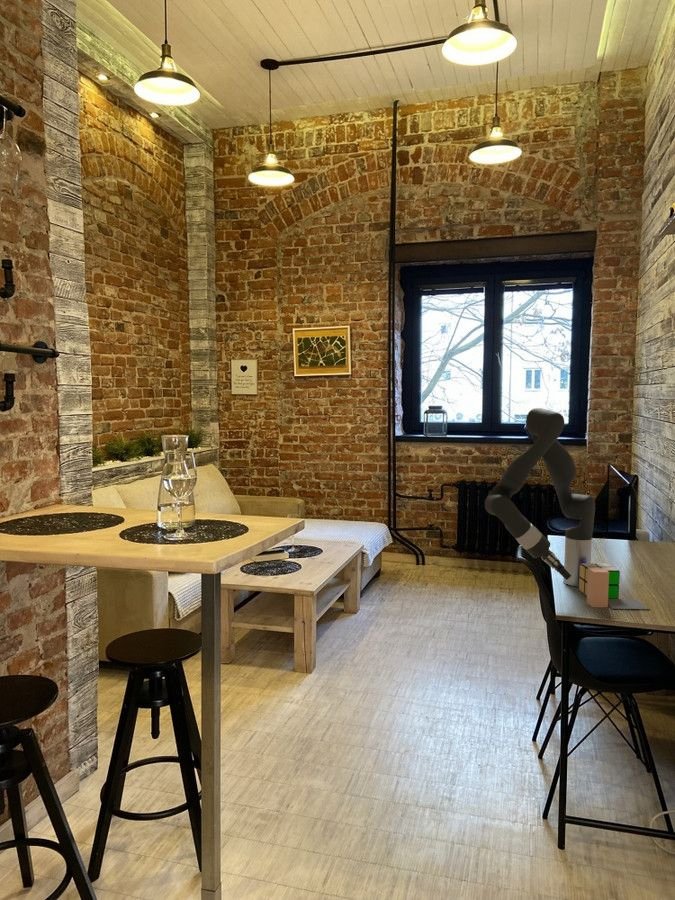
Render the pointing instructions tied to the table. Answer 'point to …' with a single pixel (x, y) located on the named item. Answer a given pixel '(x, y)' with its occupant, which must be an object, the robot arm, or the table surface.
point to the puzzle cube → (613, 578)
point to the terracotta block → (597, 587)
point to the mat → (626, 604)
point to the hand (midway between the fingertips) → (568, 577)
